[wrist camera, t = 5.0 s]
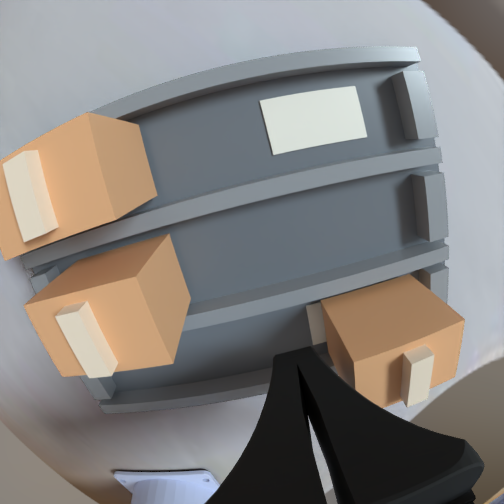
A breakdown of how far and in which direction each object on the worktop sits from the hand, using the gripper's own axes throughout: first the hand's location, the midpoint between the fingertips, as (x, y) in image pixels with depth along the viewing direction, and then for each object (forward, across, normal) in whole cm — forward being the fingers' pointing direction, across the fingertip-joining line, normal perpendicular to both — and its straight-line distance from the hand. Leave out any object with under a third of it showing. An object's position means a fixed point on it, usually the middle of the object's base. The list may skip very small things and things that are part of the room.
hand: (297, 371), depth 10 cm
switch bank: (+4, +1, -4) cm, 6 cm away
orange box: (+2, +5, -8) cm, 10 cm away
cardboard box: (+2, -4, 0) cm, 4 cm away
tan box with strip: (+2, +5, -4) cm, 7 cm away
